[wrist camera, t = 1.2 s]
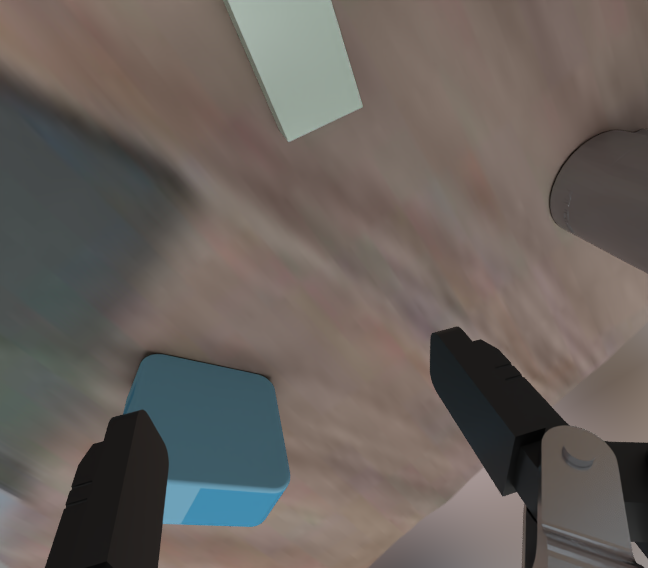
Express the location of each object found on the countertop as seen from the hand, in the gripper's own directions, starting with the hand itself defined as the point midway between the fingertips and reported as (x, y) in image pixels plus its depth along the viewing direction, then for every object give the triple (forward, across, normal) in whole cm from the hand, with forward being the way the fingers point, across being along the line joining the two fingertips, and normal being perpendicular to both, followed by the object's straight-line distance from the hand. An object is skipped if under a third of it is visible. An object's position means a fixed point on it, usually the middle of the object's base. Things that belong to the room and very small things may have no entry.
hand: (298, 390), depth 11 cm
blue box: (+21, +8, +18) cm, 28 cm away
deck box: (+21, -4, -8) cm, 23 cm away
